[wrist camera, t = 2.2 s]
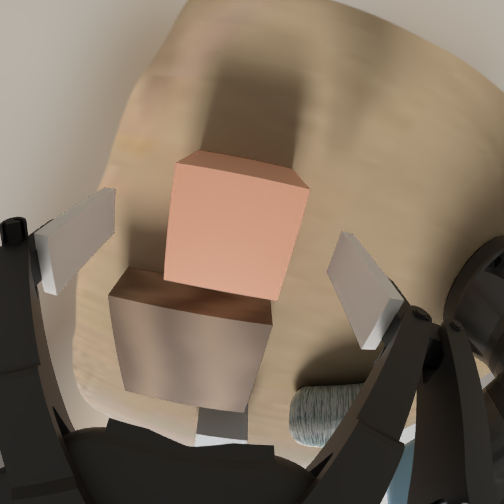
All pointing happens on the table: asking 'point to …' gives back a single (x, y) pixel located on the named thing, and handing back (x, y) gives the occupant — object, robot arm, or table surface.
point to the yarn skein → (319, 412)
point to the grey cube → (221, 427)
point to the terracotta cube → (233, 224)
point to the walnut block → (187, 340)
